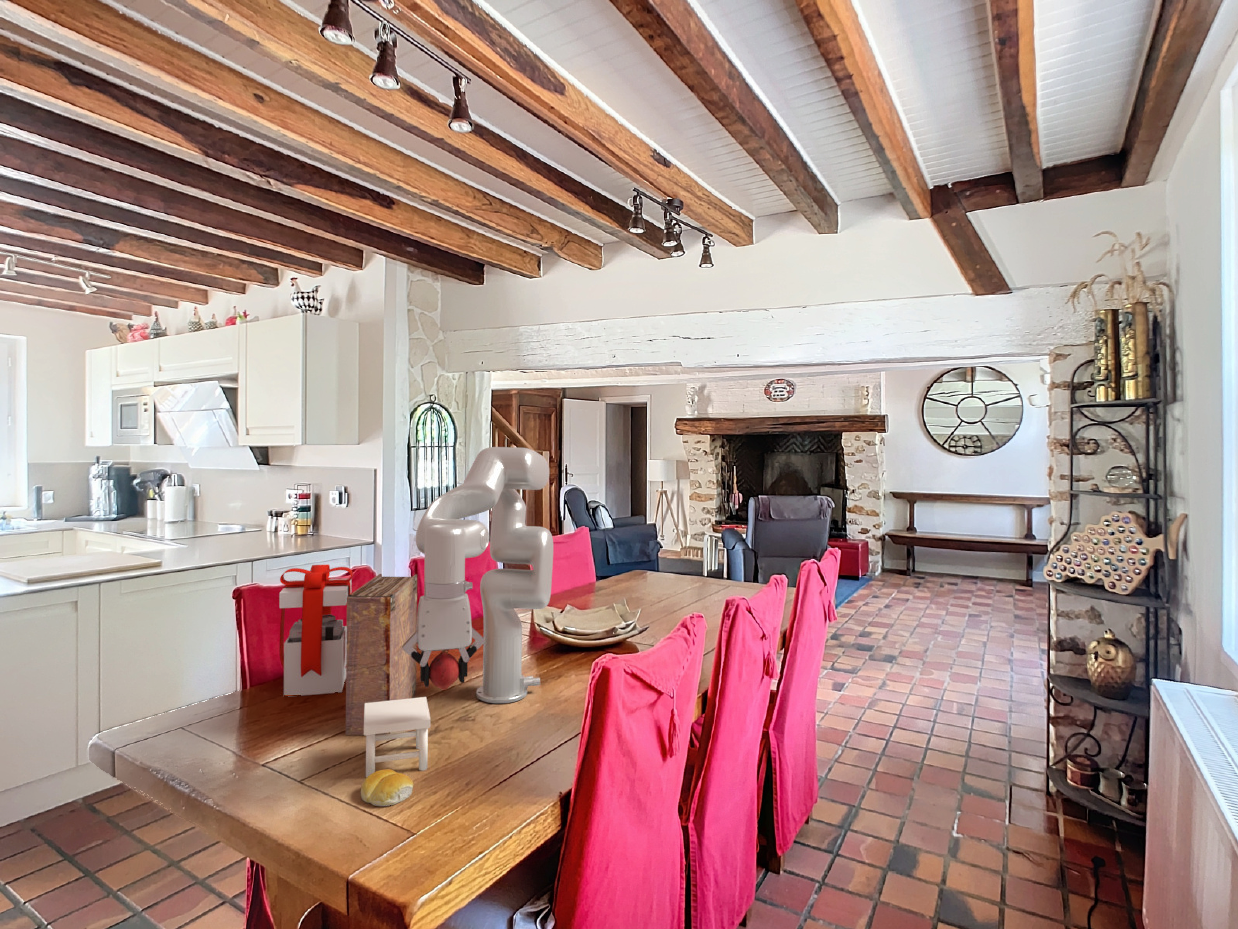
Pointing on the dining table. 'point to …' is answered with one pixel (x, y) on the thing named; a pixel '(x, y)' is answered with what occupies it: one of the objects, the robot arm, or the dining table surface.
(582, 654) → the dining table surface
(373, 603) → the book
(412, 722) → the stool
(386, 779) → the bread roll
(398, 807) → the dining table surface
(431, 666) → the onion
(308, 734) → the dining table surface
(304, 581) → the gift wrap
